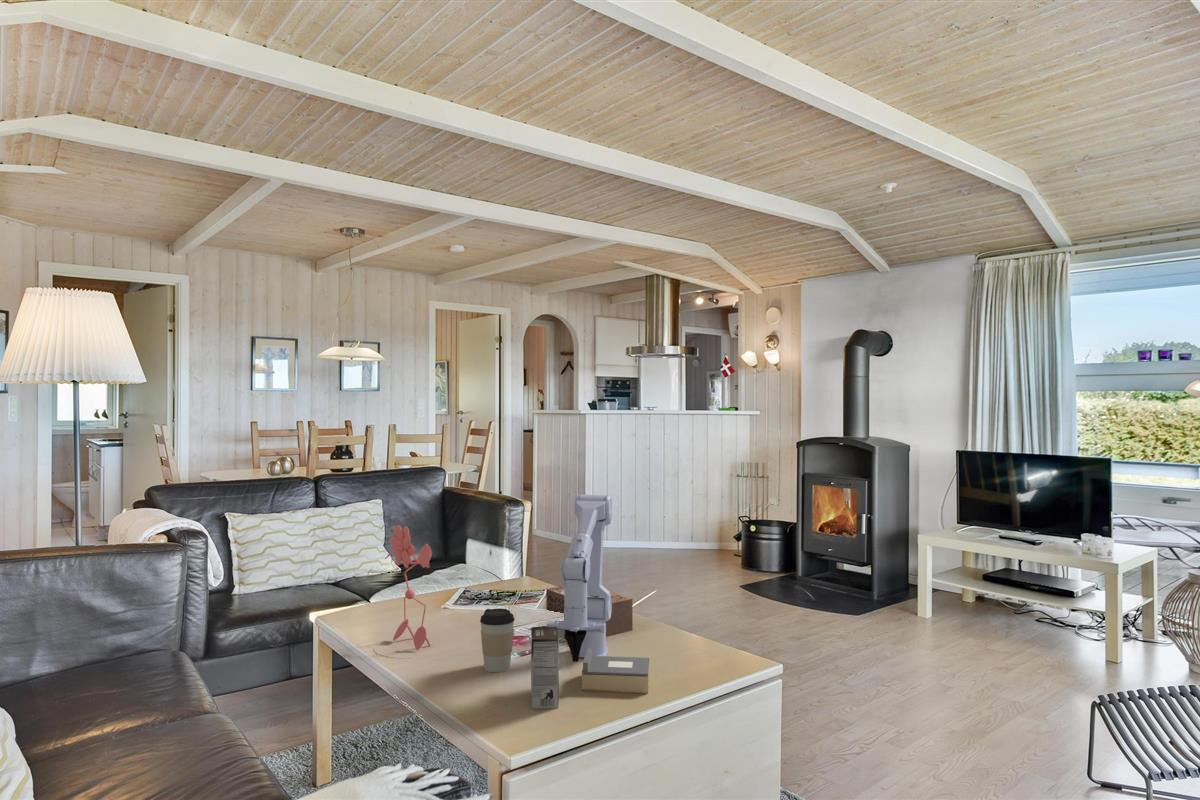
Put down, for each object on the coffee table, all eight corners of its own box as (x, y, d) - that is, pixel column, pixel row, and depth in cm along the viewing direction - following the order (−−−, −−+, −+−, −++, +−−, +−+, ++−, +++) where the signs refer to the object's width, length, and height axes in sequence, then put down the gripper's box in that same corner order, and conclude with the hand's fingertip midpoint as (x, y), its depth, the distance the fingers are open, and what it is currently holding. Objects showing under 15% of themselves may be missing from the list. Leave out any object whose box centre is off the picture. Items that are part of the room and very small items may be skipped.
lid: (581, 673, 177) (581, 663, 177) (586, 657, 188) (586, 648, 188) (648, 675, 176) (648, 665, 176) (649, 659, 187) (649, 649, 187)
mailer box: (581, 691, 177) (581, 674, 177) (586, 674, 188) (586, 658, 188) (648, 693, 176) (648, 676, 176) (649, 676, 187) (649, 660, 187)
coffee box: (531, 693, 176) (531, 626, 176) (558, 692, 176) (558, 625, 176) (530, 709, 167) (530, 638, 167) (559, 708, 167) (559, 637, 167)
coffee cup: (520, 663, 196) (520, 607, 196) (505, 675, 187) (505, 617, 187) (489, 659, 199) (490, 604, 199) (473, 671, 190) (473, 613, 190)
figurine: (403, 630, 223) (401, 516, 223) (448, 652, 204) (445, 527, 204) (354, 643, 213) (352, 523, 212) (397, 667, 194) (395, 535, 193)
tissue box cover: (546, 619, 236) (546, 588, 236) (582, 612, 244) (582, 582, 244) (595, 640, 215) (595, 606, 215) (632, 631, 224) (632, 598, 224)
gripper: (544, 609, 180) (544, 665, 180) (603, 611, 178) (603, 667, 178) (549, 601, 187) (549, 655, 187) (605, 603, 185) (605, 657, 185)
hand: (575, 660), depth 183 cm, fingers closed
